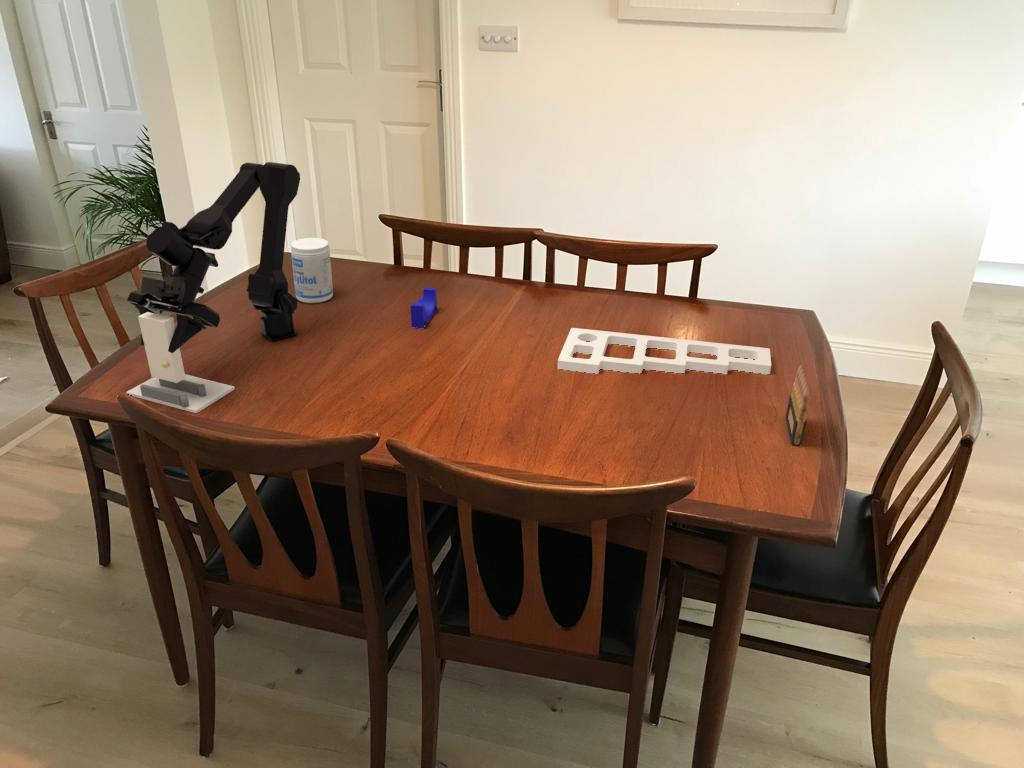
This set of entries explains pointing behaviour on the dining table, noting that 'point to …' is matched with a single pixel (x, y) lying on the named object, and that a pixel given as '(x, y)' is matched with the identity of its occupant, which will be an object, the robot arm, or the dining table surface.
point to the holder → (640, 361)
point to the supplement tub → (312, 270)
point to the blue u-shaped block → (424, 308)
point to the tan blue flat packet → (797, 408)
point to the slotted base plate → (182, 392)
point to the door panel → (161, 347)
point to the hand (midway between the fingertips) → (156, 349)
